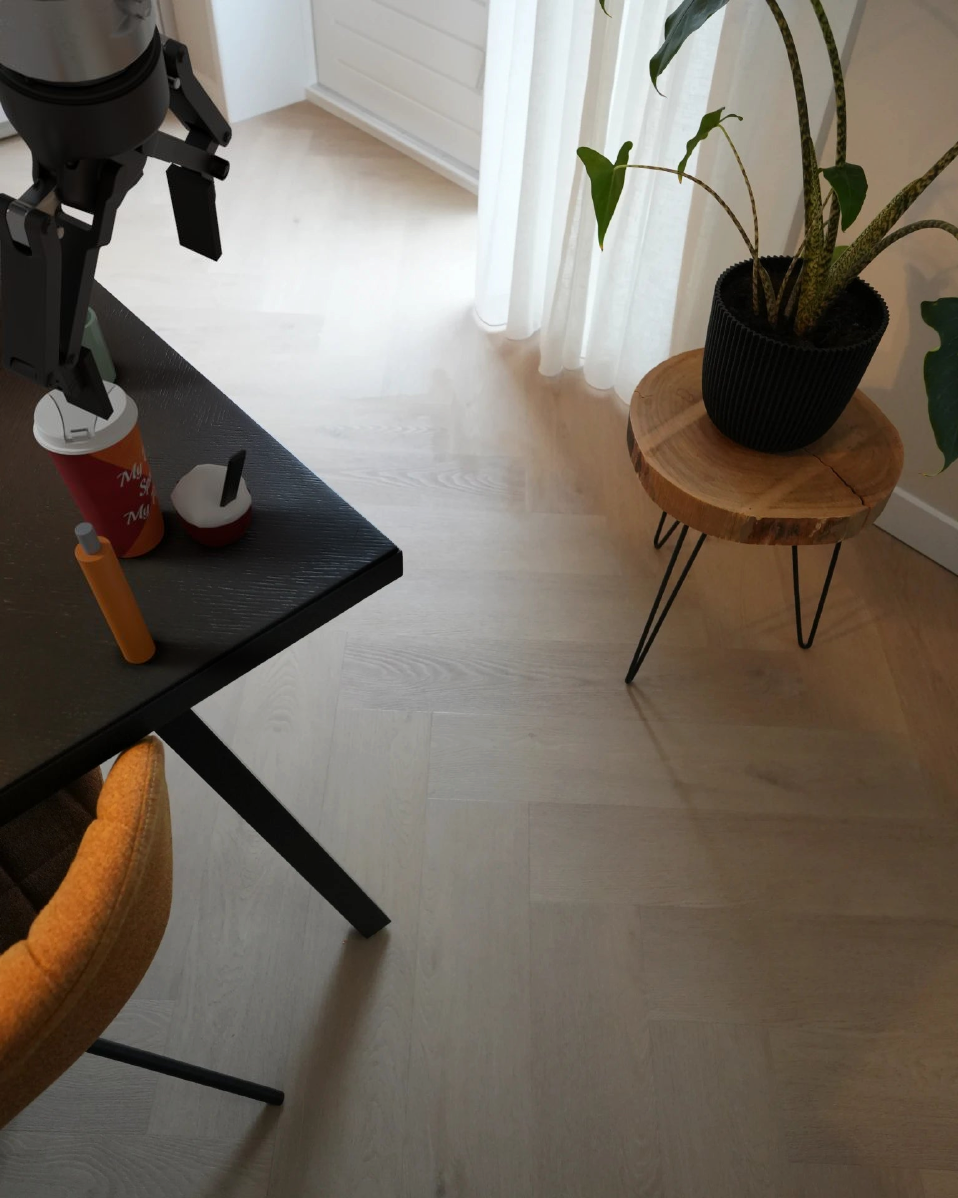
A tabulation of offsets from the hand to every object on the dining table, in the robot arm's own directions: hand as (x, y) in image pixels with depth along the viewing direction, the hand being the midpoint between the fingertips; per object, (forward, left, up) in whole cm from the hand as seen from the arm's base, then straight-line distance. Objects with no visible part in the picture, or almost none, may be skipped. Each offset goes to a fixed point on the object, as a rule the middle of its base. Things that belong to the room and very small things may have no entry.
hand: (148, 325), depth 62 cm
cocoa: (-2, +4, -25) cm, 25 cm away
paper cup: (-9, +3, -25) cm, 26 cm away
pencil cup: (-22, +21, -24) cm, 39 cm away
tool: (-3, -9, -24) cm, 26 cm away
